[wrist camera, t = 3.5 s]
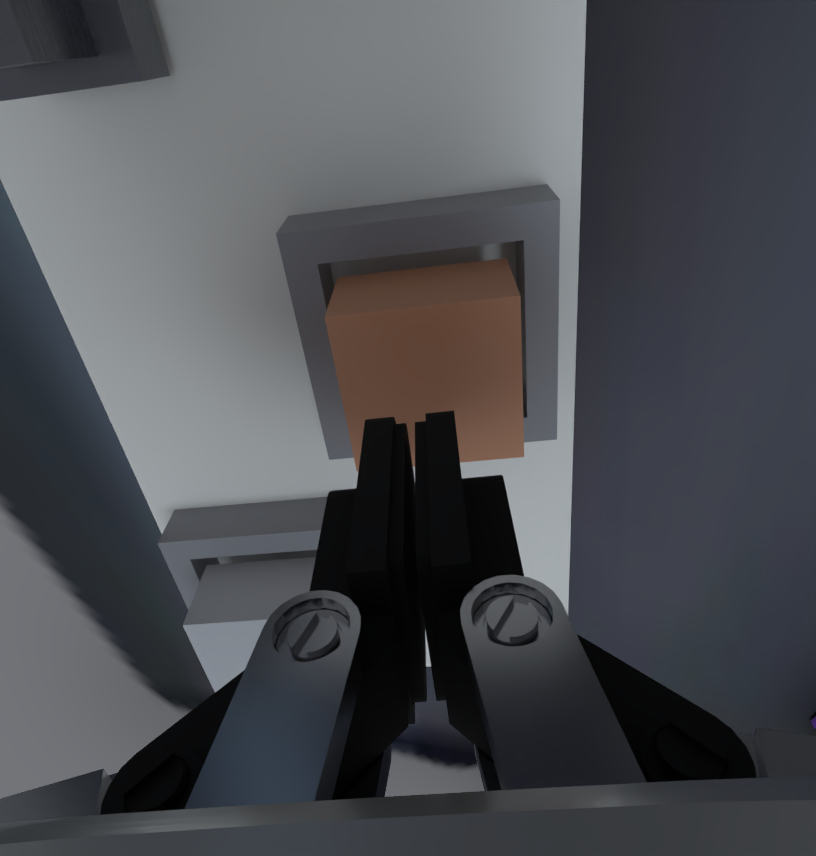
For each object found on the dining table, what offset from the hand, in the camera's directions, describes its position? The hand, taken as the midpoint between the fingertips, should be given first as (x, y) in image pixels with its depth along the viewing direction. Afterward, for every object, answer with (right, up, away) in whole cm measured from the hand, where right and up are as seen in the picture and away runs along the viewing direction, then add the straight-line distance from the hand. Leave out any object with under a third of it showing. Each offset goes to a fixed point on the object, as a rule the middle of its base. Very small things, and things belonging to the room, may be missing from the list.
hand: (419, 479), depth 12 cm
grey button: (-5, -5, +9) cm, 11 cm away
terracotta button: (0, +3, +4) cm, 5 cm away
